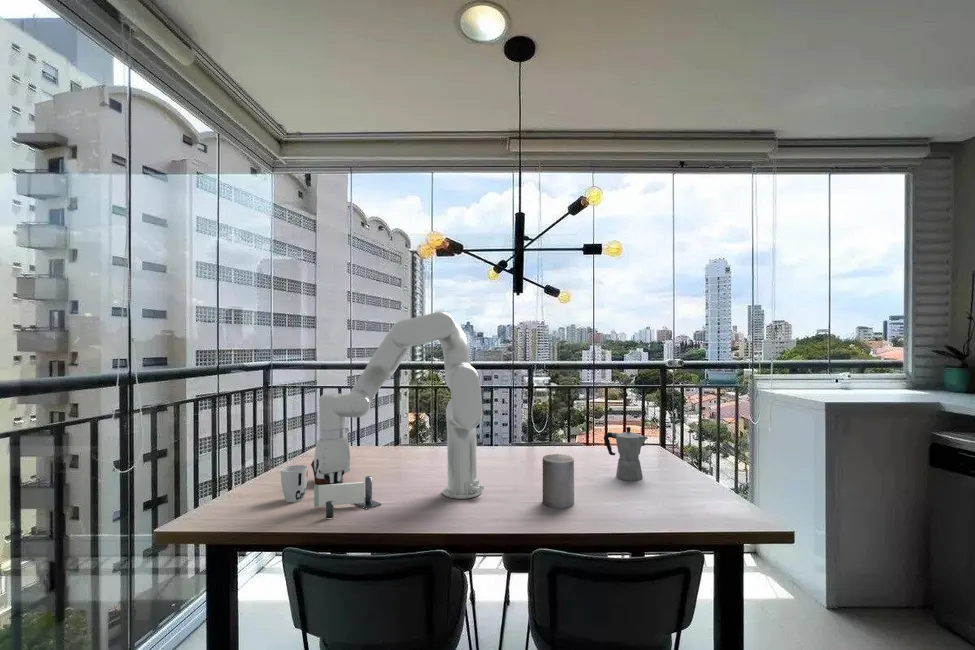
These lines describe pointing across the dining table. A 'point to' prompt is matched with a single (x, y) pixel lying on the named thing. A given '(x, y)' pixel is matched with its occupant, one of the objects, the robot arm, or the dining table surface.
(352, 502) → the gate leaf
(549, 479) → the pillar candle
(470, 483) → the robot arm
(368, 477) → the gate frame
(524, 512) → the dining table surface
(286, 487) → the cup
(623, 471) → the coffeepot
